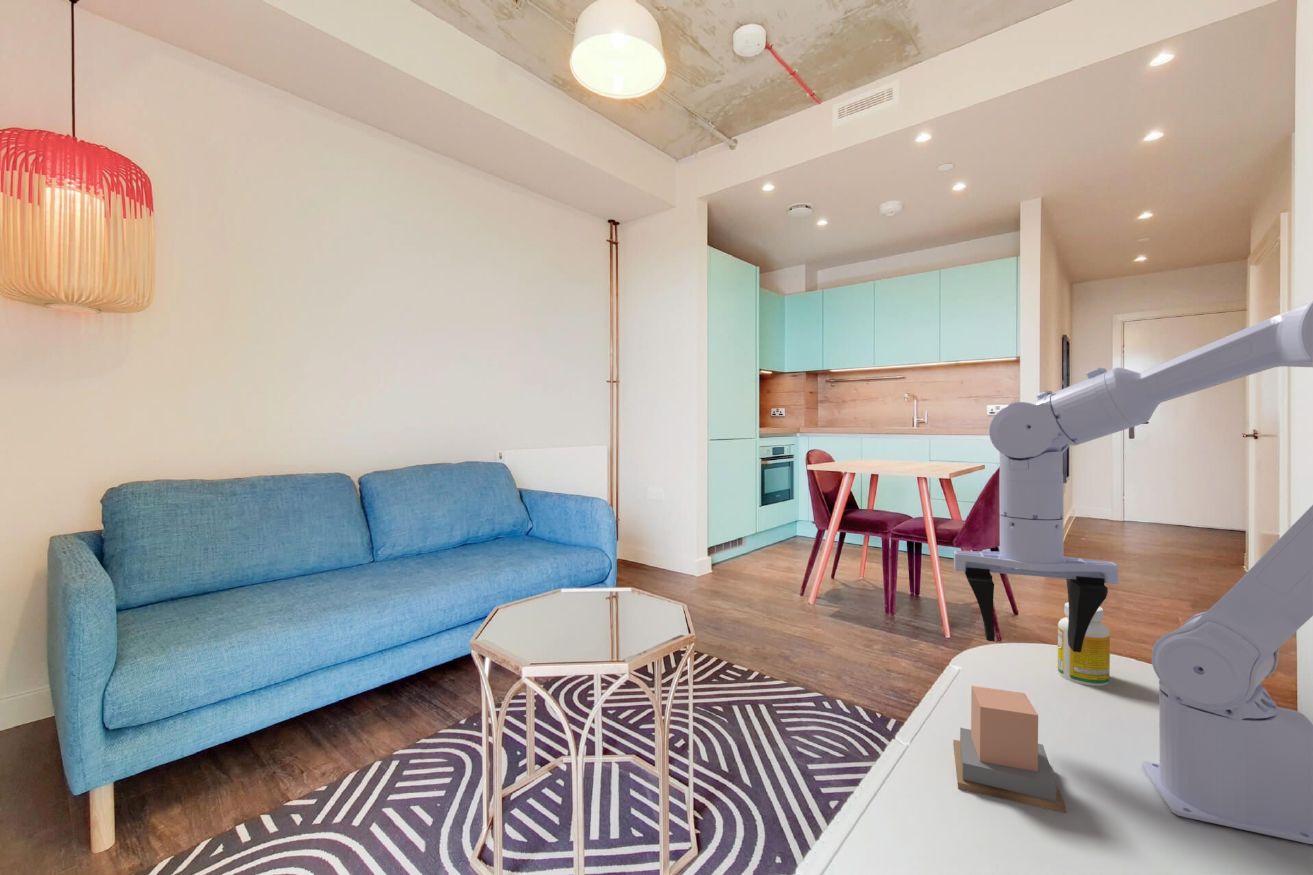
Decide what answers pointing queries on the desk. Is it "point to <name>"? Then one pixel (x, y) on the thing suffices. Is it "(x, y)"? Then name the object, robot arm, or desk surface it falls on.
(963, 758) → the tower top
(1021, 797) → the tower base
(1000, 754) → the terracotta block
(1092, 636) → the supplement bottle
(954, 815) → the desk surface
